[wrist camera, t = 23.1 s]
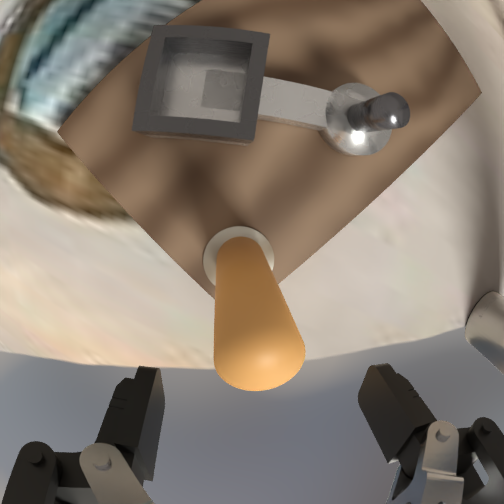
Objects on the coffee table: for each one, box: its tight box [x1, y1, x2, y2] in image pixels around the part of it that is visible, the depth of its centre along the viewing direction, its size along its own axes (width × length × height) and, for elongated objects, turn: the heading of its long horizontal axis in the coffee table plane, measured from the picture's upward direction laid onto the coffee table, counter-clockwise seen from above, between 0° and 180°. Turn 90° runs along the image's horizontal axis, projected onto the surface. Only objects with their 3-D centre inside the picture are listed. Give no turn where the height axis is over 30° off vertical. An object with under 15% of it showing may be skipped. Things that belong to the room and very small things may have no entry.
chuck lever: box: [132, 25, 410, 155], centre depth 17 cm, size 19×8×7 cm, turn 82°
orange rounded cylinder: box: [214, 236, 305, 391], centre depth 18 cm, size 4×4×13 cm
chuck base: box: [57, 0, 482, 299], centre depth 21 cm, size 24×39×2 cm, turn 131°
